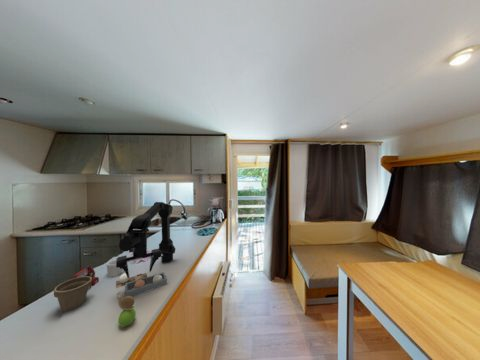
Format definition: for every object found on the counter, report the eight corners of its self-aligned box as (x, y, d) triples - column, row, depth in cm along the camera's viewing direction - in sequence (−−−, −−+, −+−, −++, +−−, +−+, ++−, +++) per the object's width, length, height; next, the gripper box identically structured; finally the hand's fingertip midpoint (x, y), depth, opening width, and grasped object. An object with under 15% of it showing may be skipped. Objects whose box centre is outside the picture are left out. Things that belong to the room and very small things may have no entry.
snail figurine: (121, 318, 63) (122, 287, 63) (138, 317, 64) (139, 287, 64) (111, 331, 58) (112, 297, 58) (130, 330, 58) (131, 296, 59)
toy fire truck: (101, 281, 88) (101, 261, 88) (82, 296, 75) (83, 274, 76) (86, 282, 86) (87, 262, 87) (65, 298, 74) (66, 275, 74)
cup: (131, 272, 96) (131, 258, 96) (120, 280, 88) (120, 265, 88) (115, 271, 97) (115, 258, 97) (102, 279, 89) (102, 264, 89)
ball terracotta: (145, 290, 79) (145, 281, 79) (134, 293, 76) (134, 284, 77) (144, 285, 83) (144, 276, 83) (133, 288, 80) (134, 279, 80)
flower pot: (74, 296, 75) (75, 275, 75) (98, 297, 75) (98, 275, 75) (43, 317, 64) (44, 291, 64) (71, 318, 63) (72, 292, 64)
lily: (125, 265, 106) (128, 255, 103) (134, 251, 117) (136, 241, 114) (144, 268, 109) (147, 258, 106) (151, 255, 120) (154, 245, 117)
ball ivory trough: (161, 280, 88) (161, 271, 88) (162, 284, 84) (163, 275, 84) (151, 283, 85) (152, 274, 85) (153, 287, 81) (153, 278, 81)
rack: (146, 274, 94) (146, 271, 94) (147, 280, 88) (147, 277, 88) (116, 283, 86) (116, 280, 86) (115, 290, 80) (115, 287, 80)
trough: (163, 278, 90) (163, 272, 90) (166, 286, 83) (166, 279, 83) (125, 291, 79) (125, 283, 79) (125, 300, 73) (125, 292, 73)
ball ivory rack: (129, 278, 88) (129, 270, 88) (129, 282, 84) (129, 274, 84) (119, 281, 85) (119, 273, 85) (118, 286, 82) (119, 277, 82)
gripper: (157, 235, 92) (157, 262, 92) (117, 242, 81) (116, 273, 80) (161, 240, 83) (161, 271, 83) (116, 249, 72) (115, 284, 71)
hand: (139, 274), depth 80 cm, fingers open, 9 cm apart
